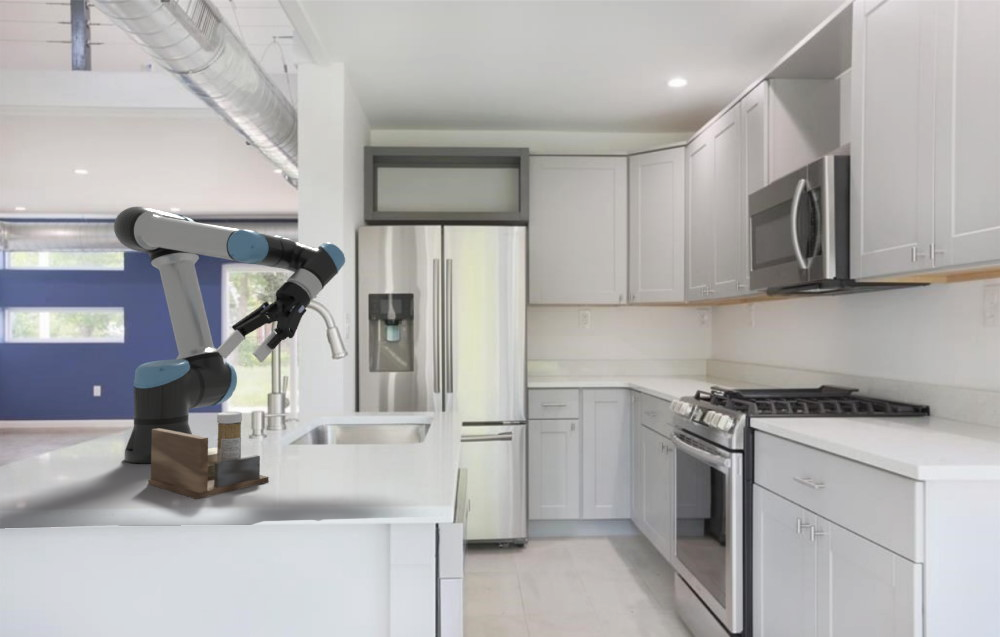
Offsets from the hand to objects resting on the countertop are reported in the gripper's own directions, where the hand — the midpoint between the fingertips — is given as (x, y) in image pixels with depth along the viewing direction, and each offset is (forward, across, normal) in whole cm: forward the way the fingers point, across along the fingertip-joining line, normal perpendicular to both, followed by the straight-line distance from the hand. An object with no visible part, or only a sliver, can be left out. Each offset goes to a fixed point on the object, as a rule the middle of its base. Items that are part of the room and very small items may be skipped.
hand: (238, 356), depth 130 cm
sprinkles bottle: (+22, -8, -13) cm, 27 cm away
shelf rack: (+24, -4, -12) cm, 27 cm away
